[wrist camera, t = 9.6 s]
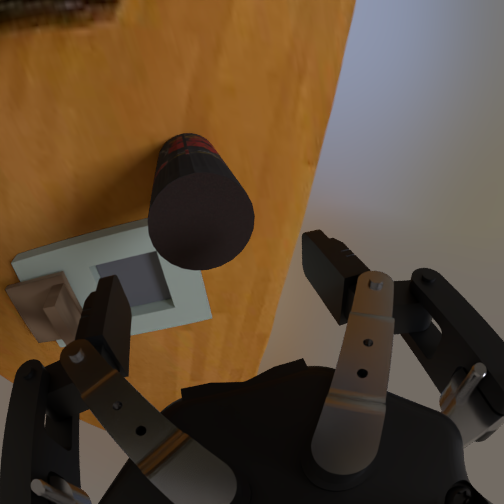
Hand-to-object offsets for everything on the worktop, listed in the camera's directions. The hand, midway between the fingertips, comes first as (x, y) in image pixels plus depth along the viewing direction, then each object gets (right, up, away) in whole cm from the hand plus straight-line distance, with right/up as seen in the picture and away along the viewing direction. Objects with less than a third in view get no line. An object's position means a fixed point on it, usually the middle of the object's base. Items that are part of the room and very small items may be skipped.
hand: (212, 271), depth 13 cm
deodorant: (-5, +10, +17) cm, 20 cm away
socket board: (-15, -3, +21) cm, 26 cm away
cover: (-23, -6, +18) cm, 29 cm away
